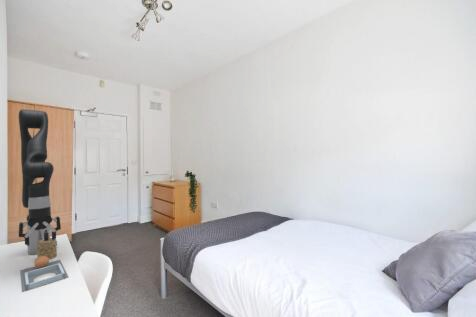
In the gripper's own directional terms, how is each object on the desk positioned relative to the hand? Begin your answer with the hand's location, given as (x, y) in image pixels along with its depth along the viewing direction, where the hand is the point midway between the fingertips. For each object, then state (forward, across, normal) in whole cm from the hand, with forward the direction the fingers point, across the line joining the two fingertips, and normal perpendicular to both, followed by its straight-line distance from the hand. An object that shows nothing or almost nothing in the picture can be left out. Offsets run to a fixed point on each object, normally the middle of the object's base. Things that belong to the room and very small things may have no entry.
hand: (41, 242), depth 103 cm
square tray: (+12, 0, +13) cm, 17 cm away
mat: (+12, 0, +8) cm, 14 cm away
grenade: (+12, -3, -12) cm, 17 cm away
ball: (+11, 0, 0) cm, 11 cm away
